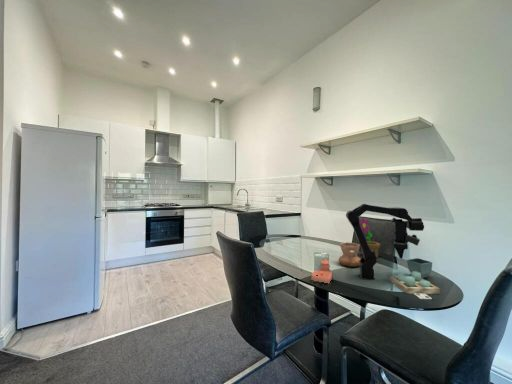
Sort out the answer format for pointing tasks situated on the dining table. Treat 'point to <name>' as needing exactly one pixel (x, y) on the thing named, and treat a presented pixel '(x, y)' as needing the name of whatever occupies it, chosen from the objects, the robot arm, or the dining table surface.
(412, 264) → the flower pot
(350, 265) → the ceramic jug
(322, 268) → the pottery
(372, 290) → the dining table surface
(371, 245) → the flowerpot
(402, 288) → the board
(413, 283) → the button
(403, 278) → the button
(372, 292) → the dining table surface
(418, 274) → the button
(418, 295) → the card
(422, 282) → the button
